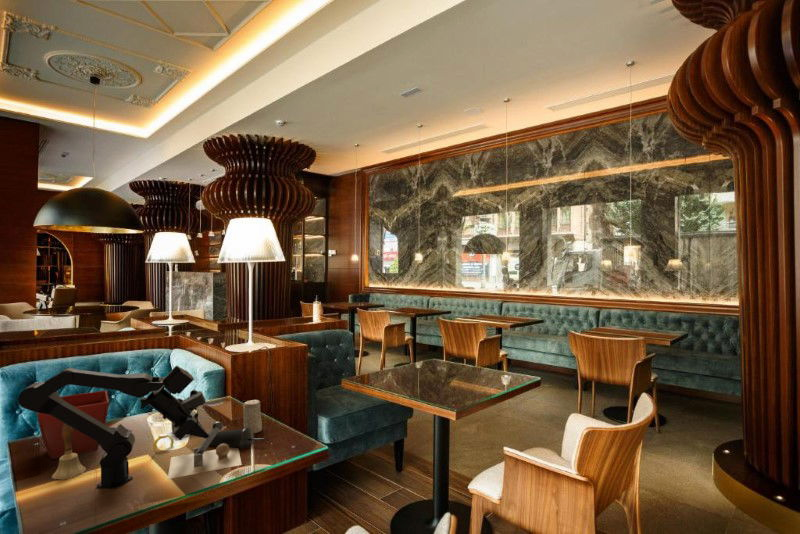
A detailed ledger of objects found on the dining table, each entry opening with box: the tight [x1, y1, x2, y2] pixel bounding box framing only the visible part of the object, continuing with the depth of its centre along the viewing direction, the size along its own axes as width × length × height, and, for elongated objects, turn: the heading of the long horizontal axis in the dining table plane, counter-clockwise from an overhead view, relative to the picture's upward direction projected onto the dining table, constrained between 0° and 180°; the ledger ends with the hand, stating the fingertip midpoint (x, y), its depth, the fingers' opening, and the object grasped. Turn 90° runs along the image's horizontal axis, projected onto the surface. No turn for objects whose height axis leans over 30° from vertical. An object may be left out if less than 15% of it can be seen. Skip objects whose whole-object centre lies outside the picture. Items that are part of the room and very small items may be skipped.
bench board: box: [167, 446, 242, 480], centre depth 137 cm, size 20×16×5 cm
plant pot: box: [36, 390, 110, 460], centre depth 152 cm, size 19×19×17 cm
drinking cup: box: [209, 428, 265, 450], centre depth 149 cm, size 8×8×20 cm
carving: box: [242, 399, 263, 434], centre depth 162 cm, size 6×8×12 cm
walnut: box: [215, 443, 229, 460], centre depth 139 cm, size 4×4×4 cm
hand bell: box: [51, 423, 87, 480], centre depth 134 cm, size 8×8×16 cm
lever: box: [196, 421, 224, 454], centre depth 137 cm, size 3×4×12 cm
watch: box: [152, 433, 174, 452], centre depth 148 cm, size 6×3×6 cm, turn 139°
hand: (207, 436), depth 137 cm, fingers closed, pressing on lever
